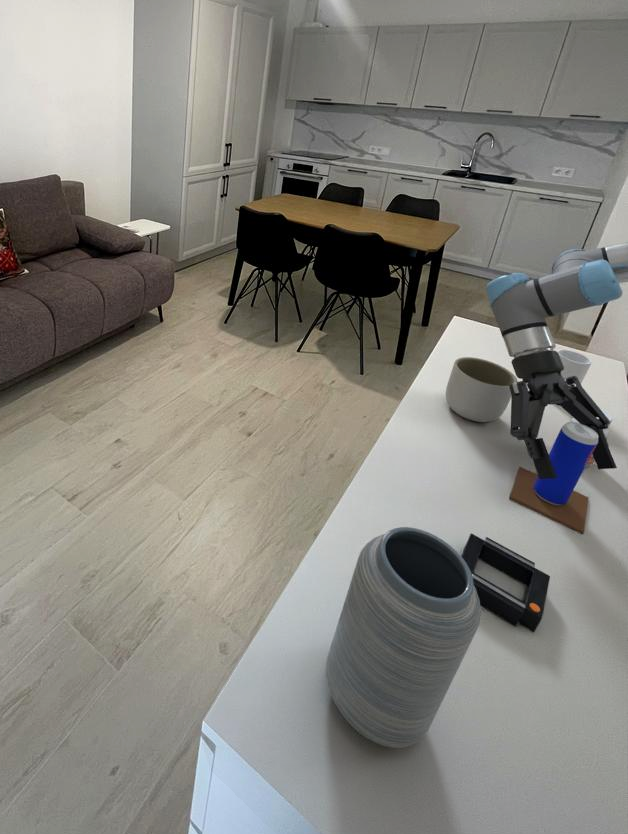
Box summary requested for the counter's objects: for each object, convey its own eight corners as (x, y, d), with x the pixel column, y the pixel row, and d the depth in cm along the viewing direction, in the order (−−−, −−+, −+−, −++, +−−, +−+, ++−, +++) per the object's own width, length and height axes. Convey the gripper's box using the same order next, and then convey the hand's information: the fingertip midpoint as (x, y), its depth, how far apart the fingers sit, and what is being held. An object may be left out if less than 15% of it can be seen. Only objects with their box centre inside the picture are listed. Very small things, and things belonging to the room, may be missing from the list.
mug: (573, 410, 119) (593, 367, 114) (540, 399, 122) (558, 357, 117) (569, 391, 127) (587, 350, 122) (538, 381, 130) (555, 341, 125)
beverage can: (570, 511, 88) (605, 443, 82) (536, 501, 89) (569, 434, 83) (560, 490, 92) (593, 425, 86) (529, 482, 94) (559, 417, 88)
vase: (448, 736, 55) (520, 598, 46) (365, 779, 51) (426, 637, 42) (377, 635, 65) (424, 504, 56) (302, 664, 61) (341, 529, 52)
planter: (451, 423, 110) (466, 382, 106) (433, 392, 121) (446, 353, 117) (510, 432, 109) (528, 390, 104) (487, 400, 120) (502, 361, 116)
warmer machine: (543, 585, 74) (551, 570, 73) (532, 637, 67) (541, 621, 65) (466, 542, 80) (473, 527, 79) (448, 585, 73) (455, 570, 72)
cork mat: (587, 499, 92) (588, 497, 91) (582, 534, 84) (584, 532, 84) (519, 468, 98) (520, 466, 98) (508, 498, 90) (509, 496, 90)
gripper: (564, 355, 100) (609, 465, 92) (463, 363, 93) (503, 483, 86) (602, 345, 93) (653, 463, 86) (496, 353, 86) (542, 482, 79)
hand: (578, 473), depth 86 cm, fingers open, 13 cm apart
